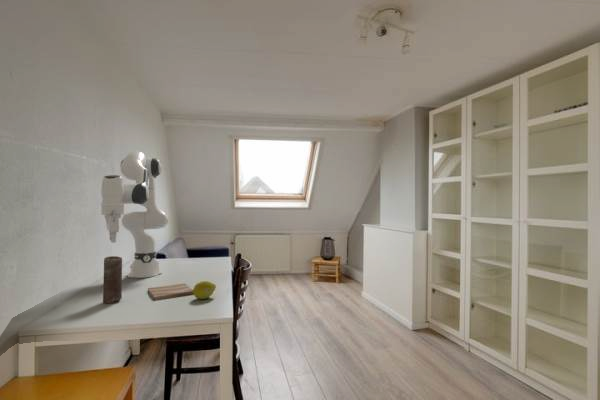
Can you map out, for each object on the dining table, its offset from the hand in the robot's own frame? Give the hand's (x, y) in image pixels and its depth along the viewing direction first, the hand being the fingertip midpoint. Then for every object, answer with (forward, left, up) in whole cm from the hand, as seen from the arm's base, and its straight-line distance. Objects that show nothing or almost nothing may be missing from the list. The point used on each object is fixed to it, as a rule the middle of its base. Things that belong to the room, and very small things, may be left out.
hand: (112, 241), depth 148 cm
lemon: (+18, +36, -27) cm, 49 cm away
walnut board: (-1, +25, -27) cm, 37 cm away
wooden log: (0, 0, -27) cm, 27 cm away
